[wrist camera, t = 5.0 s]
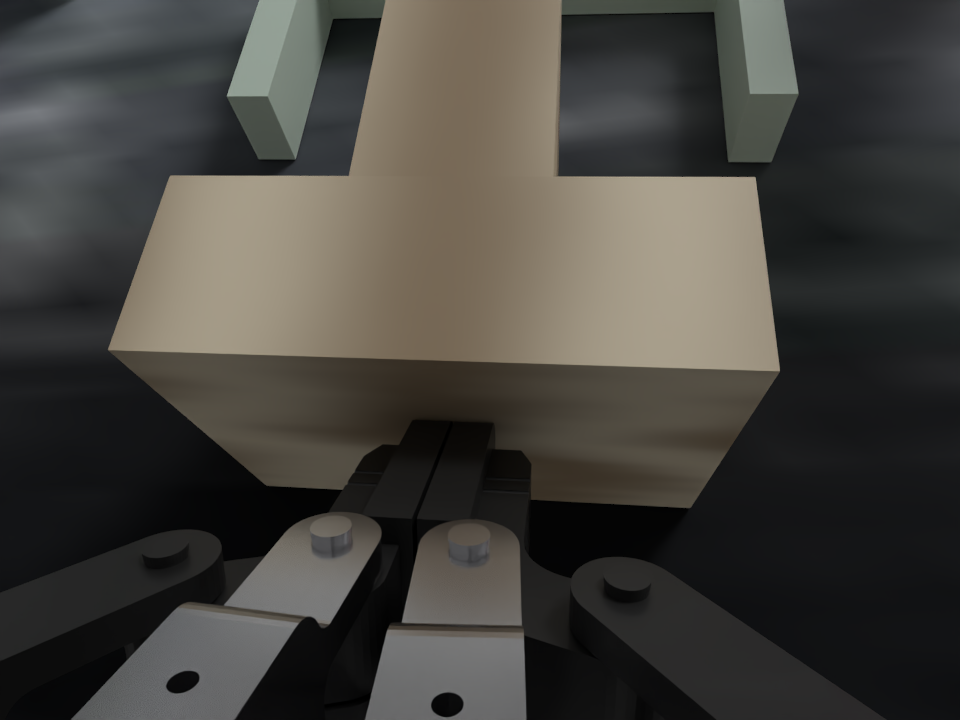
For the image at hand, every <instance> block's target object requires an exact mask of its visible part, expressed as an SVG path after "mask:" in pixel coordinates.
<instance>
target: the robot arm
mask: <svg viewBox="0 0 960 720" xmlns="http://www.w3.org/2000/svg"><path fill="white" fill-rule="evenodd" d="M531 469H532V464H531V462H530V461H529V460H528V458H527V457H526V456H525V455H524V453H523V452H522V451H521V450H502V449H495V425H494V423H480V422H456V421H455V422H454V424H453V423H452V421H429V420H412V422H411V423H410V425H409V427H408V429H407V431H406V433H405V434H404V436H403V438H402V440H401V442H400V444H399V445H389V444H382V445H381V446H379V447H377V448H376V449H374V450H373V451H371V452H369V453H368V454H366V455H365V456H363V458H362V460H361V461H360V463H359V464H358V466H357V468H356V469H355V473H353V474H352V476H351V477H350V479H349V480H348V484H347V485H345V487H344V488H343V490H342V491H341V493H340V495H339V496H338V498H337V499H336V501H335V503H334V504H333V506H332V507H331V509H330V511H329V512H328V513H324V514H319V515H315V516H312V517H309V518H307V519H304V520H302V521H300V522H298V523H296V524H295V525H293V526H292V527H291V528H289V529H288V530H287V531H286V532H285V534H284V535H283V536H282V537H281V538H280V540H279V541H278V542H277V543H276V544H275V545H274V547H273V548H272V549H271V550H270V551H269V552H268V554H267V555H266V556H262V557H255V558H247V559H239V560H231V561H224V562H223V554H222V546H221V543H220V541H219V539H218V538H217V537H215V536H214V535H212V534H210V533H208V532H204V531H200V530H174V531H168V532H163V533H159V534H155V535H152V536H149V537H146V538H144V539H141V540H138V541H136V542H133V543H130V544H128V545H125V546H122V547H120V548H117V549H115V550H112V551H109V552H107V553H104V554H101V555H99V556H96V557H93V558H91V559H88V560H86V561H83V562H80V563H78V564H75V565H72V566H70V567H67V568H64V569H62V570H59V571H57V572H54V573H51V574H49V575H46V576H43V577H41V578H38V579H36V580H33V581H30V582H28V583H25V584H22V585H20V586H17V587H14V588H12V589H9V590H7V591H4V592H1V593H0V720H5V719H6V716H7V714H8V712H9V711H10V709H11V708H12V706H13V705H14V704H15V703H16V702H17V701H18V700H19V699H20V698H21V697H22V696H23V695H25V694H26V693H28V692H29V691H31V690H33V689H35V688H37V687H39V686H41V685H43V684H45V683H47V682H49V681H52V680H54V679H56V678H58V677H60V676H62V675H64V674H66V673H69V672H71V671H73V670H75V669H77V668H79V667H81V666H83V665H86V664H88V663H90V662H92V661H94V660H96V659H98V658H100V657H102V656H105V655H107V654H109V653H111V652H113V651H115V650H117V649H119V648H122V647H124V648H125V653H126V658H127V661H126V662H125V663H124V664H123V665H122V666H121V667H120V668H119V669H118V670H117V672H116V673H115V674H114V675H113V676H112V677H111V678H110V679H109V680H108V681H107V682H106V683H105V684H104V685H103V686H102V687H101V689H100V690H99V691H98V692H97V693H96V694H95V695H94V696H93V697H92V698H91V699H90V700H89V701H88V702H87V703H86V704H85V706H84V707H83V708H82V709H81V710H80V711H79V712H78V713H77V714H76V715H75V716H74V717H73V718H72V719H70V720H886V719H885V718H883V717H882V716H880V715H879V714H877V713H876V712H874V711H873V710H871V709H870V708H868V707H867V706H865V705H864V704H862V703H861V702H859V701H858V700H856V699H855V698H854V697H852V696H851V695H849V694H848V693H846V692H845V691H843V690H842V689H840V688H839V687H837V686H836V685H834V684H833V683H831V682H830V681H828V680H827V679H825V678H824V677H823V676H821V675H820V674H818V673H817V672H815V671H814V670H812V669H811V668H809V667H808V666H806V665H805V664H803V663H802V662H800V661H799V660H797V659H796V658H794V657H793V656H791V655H790V654H789V653H787V652H786V651H784V650H783V649H781V648H780V647H778V646H777V645H775V644H774V643H772V642H771V641H769V640H768V639H766V638H765V637H763V636H762V635H760V634H759V633H758V632H756V631H755V630H753V629H752V628H750V627H749V626H747V625H746V624H744V623H743V622H741V621H740V620H738V619H737V618H735V617H734V616H732V615H731V614H729V613H728V612H727V611H725V610H724V609H722V608H721V607H719V606H718V605H716V604H715V603H713V602H712V601H710V600H709V599H707V598H706V597H704V596H703V595H701V594H700V593H698V592H697V591H695V590H694V589H693V588H691V587H690V586H688V585H687V584H685V583H684V582H682V581H681V580H679V579H678V578H676V577H675V576H673V575H672V574H670V573H669V572H667V571H666V570H664V569H662V568H661V567H659V566H657V565H654V564H652V563H649V562H646V561H643V560H639V559H635V558H627V557H606V558H600V559H596V560H593V561H590V562H588V563H586V564H584V565H582V566H581V567H580V568H578V569H577V570H576V571H575V573H574V574H573V576H572V578H568V577H564V576H561V575H558V574H555V573H553V572H550V571H548V570H546V569H544V568H543V567H541V566H539V565H538V564H537V563H535V562H534V561H533V560H532V559H531V558H530V557H529V545H530V519H531Z"/></svg>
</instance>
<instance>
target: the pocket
mask: <svg viewBox="0 0 960 720" xmlns="http://www.w3.org/2000/svg"><path fill="white" fill-rule="evenodd" d="M385 1H386V0H259V3H258V6H257V9H256V12H255V15H254V18H253V21H252V24H251V26H250V29H249V32H248V35H247V38H246V41H245V44H244V47H243V50H242V53H241V56H240V59H239V62H238V65H237V67H236V70H235V73H234V76H233V79H232V82H231V85H230V88H229V91H228V94H227V98H228V100H229V102H230V104H231V106H232V108H233V110H234V112H235V114H236V116H237V118H238V120H239V122H240V124H241V126H242V128H243V129H244V131H245V133H246V135H247V137H248V139H249V141H250V143H251V145H252V147H253V149H254V151H255V153H256V155H257V157H258V159H292V160H296V157H297V153H298V149H299V145H300V142H301V138H302V134H303V130H304V126H305V123H306V119H307V115H308V111H309V108H310V104H311V100H312V96H313V93H314V89H315V85H316V81H317V78H318V74H319V70H320V66H321V62H322V59H323V55H324V51H325V47H326V44H327V40H328V36H329V32H330V29H331V25H332V21H333V19H344V18H382V15H383V10H384V6H385ZM687 12H714V17H715V28H716V38H717V49H718V59H719V70H720V81H721V91H722V102H723V112H724V123H725V133H726V144H727V155H728V162H772V159H773V157H774V154H775V152H776V149H777V147H778V144H779V142H780V139H781V137H782V134H783V132H784V129H785V127H786V124H787V122H788V119H789V117H790V114H791V111H792V109H793V106H794V104H795V101H796V99H797V96H798V94H799V93H798V87H797V81H796V75H795V69H794V62H793V56H792V50H791V44H790V38H789V32H788V25H787V19H786V13H785V7H784V1H783V0H562V13H561V15H572V14H629V13H687Z"/></svg>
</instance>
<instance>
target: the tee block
mask: <svg viewBox="0 0 960 720" xmlns="http://www.w3.org/2000/svg"><path fill="white" fill-rule="evenodd" d="M561 13H562V0H386V1H385V6H384V10H383V15H382V20H381V25H380V29H379V34H378V39H377V44H376V48H375V53H374V58H373V63H372V68H371V72H370V77H369V82H368V87H367V91H366V96H365V101H364V106H363V111H362V115H361V120H360V125H359V130H358V134H357V139H356V144H355V149H354V154H353V158H352V163H351V168H350V173H349V176H170V178H169V180H168V183H167V186H166V189H165V192H164V194H163V197H162V200H161V203H160V206H159V208H158V211H157V214H156V217H155V220H154V222H153V225H152V228H151V231H150V234H149V236H148V239H147V242H146V245H145V248H144V250H143V253H142V256H141V259H140V262H139V264H138V267H137V270H136V273H135V276H134V278H133V281H132V284H131V287H130V290H129V293H128V295H127V298H126V301H125V304H124V307H123V309H122V312H121V315H120V318H119V321H118V323H117V326H116V329H115V332H114V335H113V337H112V340H111V343H110V346H109V349H108V351H110V352H111V353H112V354H113V355H114V356H116V357H117V358H118V359H119V360H120V361H121V362H123V363H124V364H125V365H126V366H127V367H128V368H130V369H131V370H132V371H133V372H134V373H135V374H137V375H138V376H139V377H140V378H141V379H142V380H144V381H145V382H146V383H147V384H148V385H149V386H151V387H152V388H153V389H154V390H155V391H156V392H158V393H159V394H160V395H161V396H162V397H163V398H165V399H166V400H167V401H168V402H169V403H170V404H172V405H173V406H174V407H175V408H176V409H177V410H179V411H180V412H181V413H182V414H183V415H184V416H186V417H187V418H188V419H189V420H190V421H191V422H193V423H194V424H195V425H196V426H197V427H199V428H200V429H201V430H202V431H203V432H204V433H206V434H207V435H208V436H209V437H210V438H211V439H213V440H214V441H215V442H216V443H217V444H218V445H220V446H221V447H222V448H223V449H224V450H225V451H227V452H228V453H229V454H230V455H231V456H232V457H234V458H235V459H236V460H237V461H238V462H239V463H241V464H242V465H243V466H244V467H245V468H246V469H248V470H249V471H250V472H251V473H252V474H253V475H255V476H256V477H257V478H258V479H259V480H260V481H262V482H263V483H264V484H265V485H266V486H281V487H300V488H319V489H338V490H343V488H344V487H345V485H347V484H348V480H349V479H350V477H351V476H352V474H353V473H355V469H356V468H357V466H358V464H359V463H360V461H361V460H362V458H363V456H365V455H366V454H368V453H369V452H371V451H373V450H374V449H376V448H377V447H379V446H381V445H382V444H389V445H399V444H400V442H401V440H402V438H403V436H404V434H405V433H406V431H407V429H408V427H409V425H410V423H411V422H412V420H429V421H452V423H453V424H454V422H455V421H456V422H480V423H494V425H495V449H502V450H521V451H522V452H523V453H524V455H525V456H526V457H527V458H528V460H529V461H530V462H531V464H532V469H531V500H547V501H565V502H584V503H603V504H622V505H641V506H660V507H679V508H691V506H692V505H693V503H694V502H695V500H696V498H697V497H698V495H699V494H700V492H701V491H702V489H703V488H704V486H705V485H706V483H707V482H708V480H709V479H710V477H711V476H712V474H713V473H714V471H715V470H716V468H717V466H718V465H719V463H720V462H721V460H722V459H723V457H724V456H725V454H726V453H727V451H728V450H729V448H730V447H731V445H732V444H733V442H734V441H735V439H736V438H737V436H738V434H739V433H740V431H741V430H742V428H743V427H744V425H745V424H746V422H747V421H748V419H749V418H750V416H751V415H752V413H753V412H754V410H755V409H756V407H757V406H758V404H759V402H760V401H761V399H762V398H763V396H764V395H765V393H766V392H767V390H768V389H769V387H770V386H771V384H772V383H773V381H774V380H775V378H776V377H777V375H778V374H779V372H780V368H779V360H778V352H777V344H776V336H775V328H774V320H773V312H772V304H771V296H770V288H769V280H768V273H767V265H766V257H765V249H764V241H763V233H762V225H761V217H760V209H759V201H758V193H757V185H756V177H558V164H559V113H560V63H561Z"/></svg>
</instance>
